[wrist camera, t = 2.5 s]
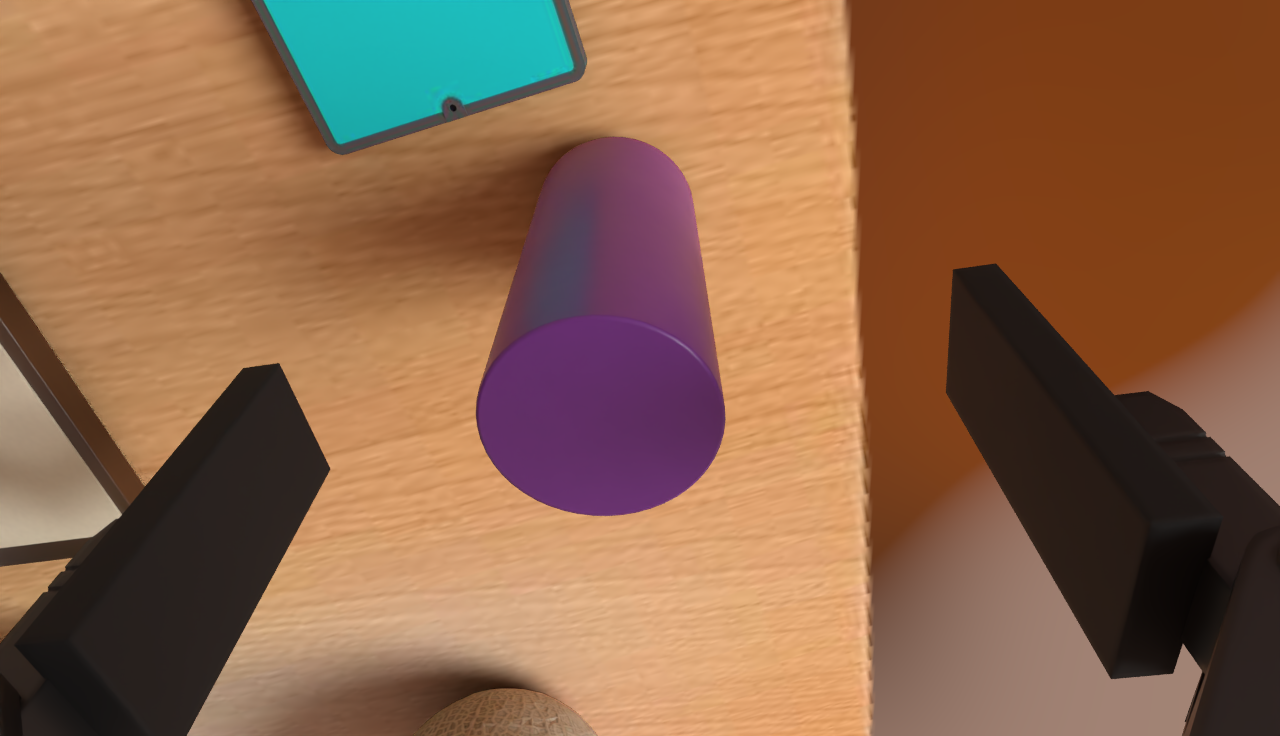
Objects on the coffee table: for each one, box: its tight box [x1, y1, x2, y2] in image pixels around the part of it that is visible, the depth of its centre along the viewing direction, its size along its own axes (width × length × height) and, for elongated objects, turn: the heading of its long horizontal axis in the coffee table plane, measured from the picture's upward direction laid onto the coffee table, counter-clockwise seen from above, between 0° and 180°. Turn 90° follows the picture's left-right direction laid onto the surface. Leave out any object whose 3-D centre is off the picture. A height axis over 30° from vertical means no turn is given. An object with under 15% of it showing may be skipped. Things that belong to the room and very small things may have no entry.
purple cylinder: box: [476, 137, 725, 516], centre depth 18 cm, size 4×4×11 cm
